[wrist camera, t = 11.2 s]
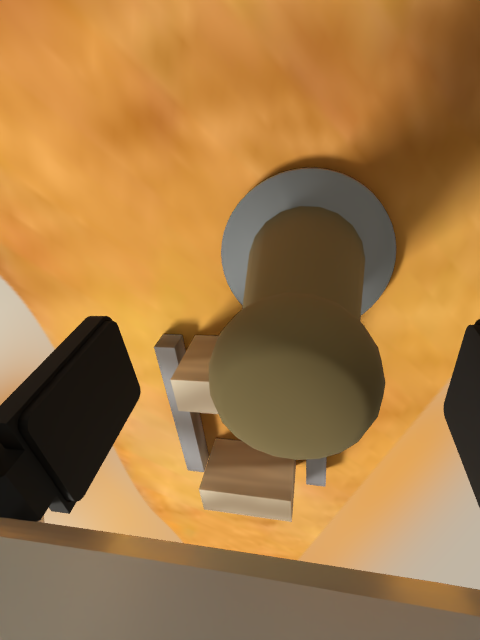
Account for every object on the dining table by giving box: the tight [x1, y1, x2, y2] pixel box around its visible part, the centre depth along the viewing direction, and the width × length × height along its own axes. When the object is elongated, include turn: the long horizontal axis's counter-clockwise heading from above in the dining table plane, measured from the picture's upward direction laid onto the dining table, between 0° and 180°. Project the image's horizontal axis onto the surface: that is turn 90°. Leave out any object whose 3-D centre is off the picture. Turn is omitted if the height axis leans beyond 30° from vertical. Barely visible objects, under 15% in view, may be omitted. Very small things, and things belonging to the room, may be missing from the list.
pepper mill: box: [208, 206, 385, 460], centre depth 14 cm, size 6×6×11 cm
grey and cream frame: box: [154, 334, 327, 522], centre depth 24 cm, size 12×11×4 cm
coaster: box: [221, 167, 396, 315], centre depth 19 cm, size 9×9×1 cm
